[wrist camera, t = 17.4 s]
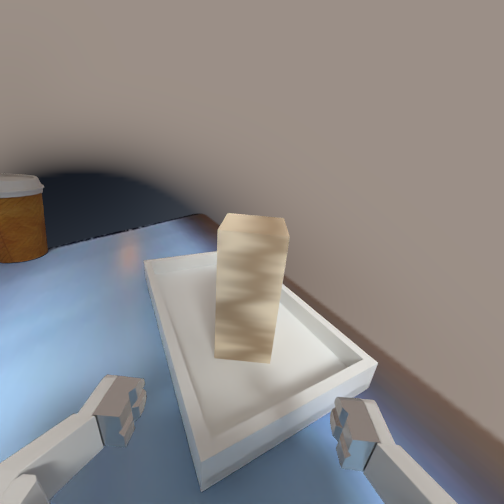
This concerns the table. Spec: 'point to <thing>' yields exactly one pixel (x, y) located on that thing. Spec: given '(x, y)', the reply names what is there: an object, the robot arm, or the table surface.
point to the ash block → (248, 286)
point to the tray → (246, 369)
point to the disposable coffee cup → (21, 218)
